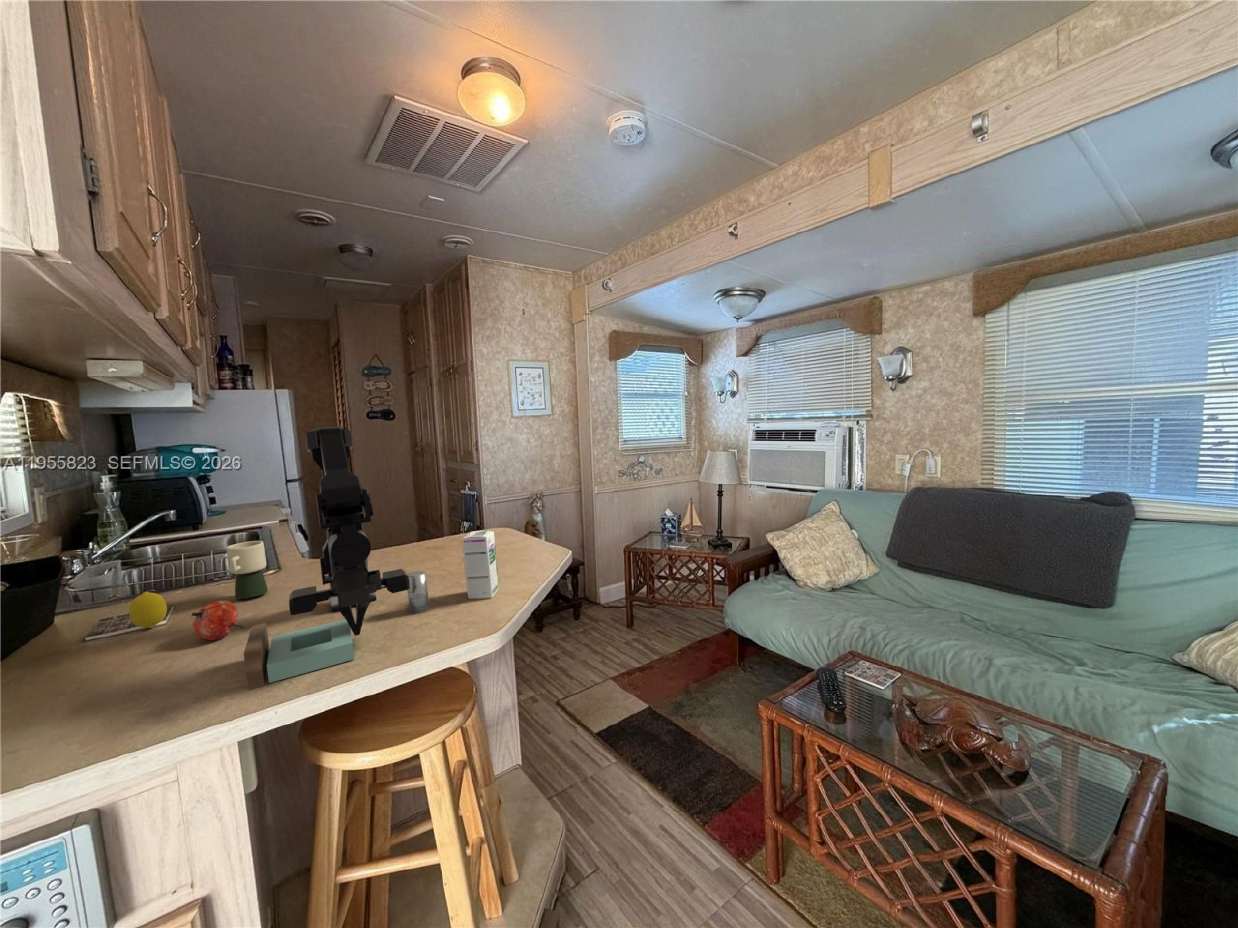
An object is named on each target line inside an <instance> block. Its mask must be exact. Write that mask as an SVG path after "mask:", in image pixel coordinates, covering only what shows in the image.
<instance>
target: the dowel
mask: <svg viewBox="0 0 1238 928" xmlns="http://www.w3.org/2000/svg"><path fill="white" fill-rule="evenodd" d="M407 575H408V577H409V584H410V589H408V590H406V591H407V601H408V609H409V611H408V612H409V613H410V614H412V615H414V614H415V615H417V614H423V613H426V612H427V611H429V610H430V599H429V589H428V579H427V571H424V570H417V571H412V572H409V573H407Z"/></svg>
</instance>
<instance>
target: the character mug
mask: <svg viewBox="0 0 1238 928" xmlns="http://www.w3.org/2000/svg"><path fill="white" fill-rule="evenodd" d="M225 549H226V557H227V561H228V564H229V567H228V572H229V573H231V574H235V575H236V577H235V583H234V584H235V585H234V586H235V587H234V588H235V589H234V592H235V594H234V596H235V597H234V598H235V599H236V600H242V599H247V600H250V599H251V598H253V597H259V596H262V595H265V594H266V593H268V591H269V590H268V585H267V582H266V579H265V576H264V572H262V570H264V569H265V568H266V567H267V559H266V549H265V545H264V541H263V540H253V541H252V540H251V541H243V542H238V543H234V544H231V545H228V546H226V548H225Z"/></svg>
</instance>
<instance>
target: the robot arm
mask: <svg viewBox="0 0 1238 928" xmlns="http://www.w3.org/2000/svg"><path fill="white" fill-rule="evenodd" d="M304 435H305V442H306V452H307V453H311V454H310V455H311V460H312V461H313V462H314V463H315V464H316V465H317V466H318V468H319V469H320V470H321V475H322V477H321V479H320V480H319V491H320V492H317V493H315V498H316V507H317V514H318V519H319V520H318V521H319V527H320V528H319V529H320V530H325V529H326V540H325V543H324V545H323V546H322V557H321V556H319V564H320V573H321V580H322V585H323V586H324V585H327V584H329V589H323V590H318V591H317V585H314V586H309V587H302V588H298V589H294V590H292V592H290V594H289V599H288V605H289V614H290V616H297V615H302V614H305V613H310V612H311V613H312V612H313V611H314V610H315V609H316V608H317V607H318V603H321V602H322V603H323V602H327V601H328V603H329V608H330V612H332V613H333V612H336V611H338V612H339V613H340V614H341V615H342V616H343V618H344V620H345V619H346V621H347V622H348V624H349V626H350V630H351V633H353V635H354V637H357V636H360V635H361V630H362V626H363V623H364V619H365V616H366V613H367V610H368V607H369V606H370V604H371V603H374V602H375V601H377V595H376V592H378V591H381V590H382V589H383V590H384V589H386V591H387V592H390V594H396V593H400V592H404V591H407V590H408V589H410V584H409V577H408V575H407V574H408V573H407V572H406V571H405V570H404V569H403V568H399V569H398V568H397V569H393V570H389V571H384V572H382V577H381V571H380V569H376V570H370V571H369V568H368V557H369V556H370V554H371V551H372V545H371V542H370V540H369V538H368V536H367V535H366V533H365V531H364V525H363V524H364V523H365V524H366V523H370V522H371V523H372V519H371V517H373V516H374V510H373V506H372V500H371V496H370V493H369V492H368V491H367V489H366V488H365V487H362V485H361V481H360V478H359V476H357V475H355V474H354V473H353V472H351V471H350V466H349V461H348V460H349V458H350V454H351V453H350V450H352V449H353V448H354V444H353V433H352V430H349V429H345V428H344V427H340V426H333V427H332V426H327V427H318V428H317V429H312V430H311V431H308V432H305V433H304ZM324 519H325V521H324ZM354 607H355V617H354V614H353V610H352V608H354Z"/></svg>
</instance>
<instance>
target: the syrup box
mask: <svg viewBox="0 0 1238 928" xmlns="http://www.w3.org/2000/svg"><path fill="white" fill-rule="evenodd" d="M461 539H462V540H461V541H462V550H463V560H464V571H465V572H464V573H465V579H466V580H465V581H466V590H467V592H466V593H467V599H469V600H470V599H471V600H478V599H479V600H480V599H493V598H494V595H496V593H497V592H498V590H499V589H500V584H499V581H500V580H499V572H498V571H499V570H498V562H497V561H498V560H497V551H496V550H497V549H496V542H495V531H494V530H488V529H487V530H476V531H475V530H474V531H470V532H469V533H468V534H467V535H465V536H464V537H462V538H461Z"/></svg>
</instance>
